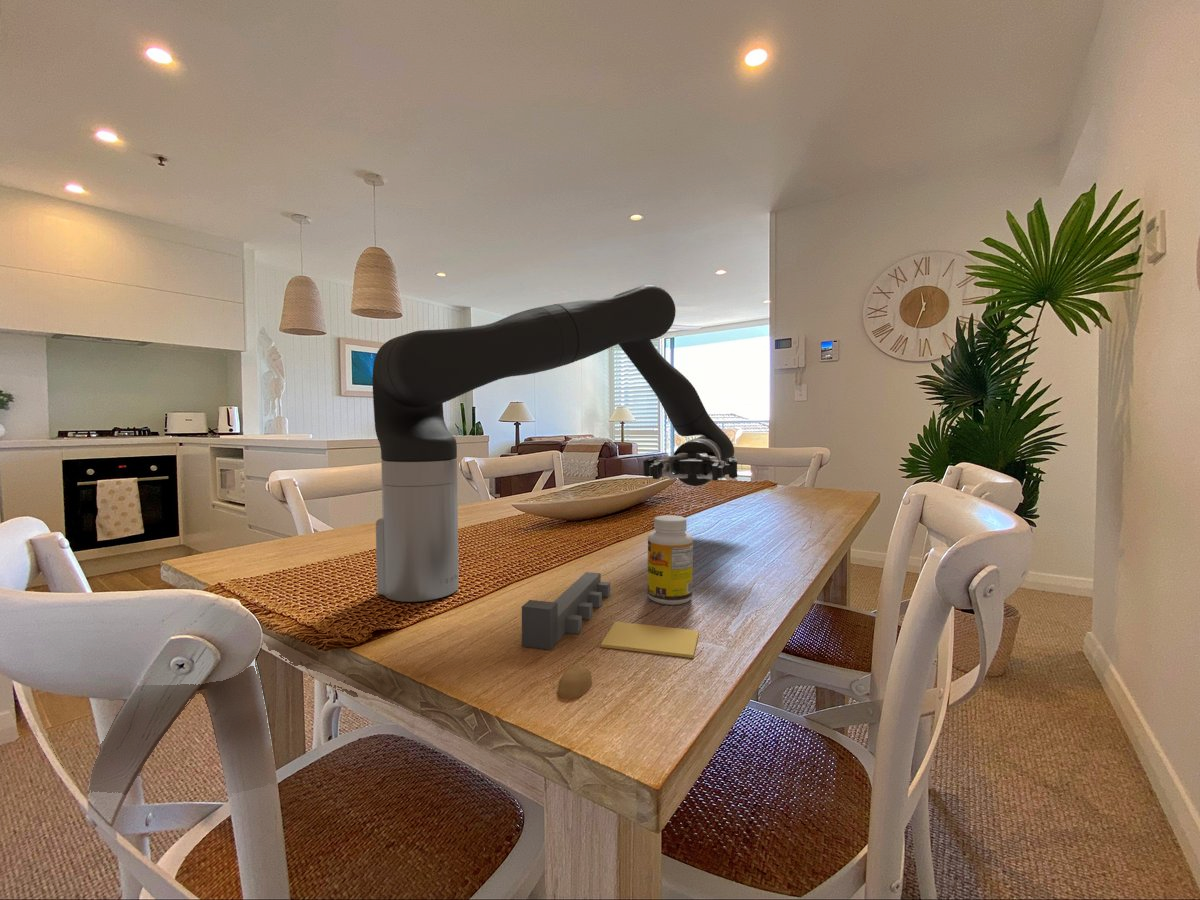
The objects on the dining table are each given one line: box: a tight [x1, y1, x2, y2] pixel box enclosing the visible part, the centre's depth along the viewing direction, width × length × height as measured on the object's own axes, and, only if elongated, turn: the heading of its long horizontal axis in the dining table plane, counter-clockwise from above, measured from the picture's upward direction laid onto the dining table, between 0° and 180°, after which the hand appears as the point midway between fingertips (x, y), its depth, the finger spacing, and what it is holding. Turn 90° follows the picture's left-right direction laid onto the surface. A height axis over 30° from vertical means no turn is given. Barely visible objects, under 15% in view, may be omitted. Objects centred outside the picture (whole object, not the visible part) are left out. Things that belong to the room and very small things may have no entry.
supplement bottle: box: [647, 514, 694, 606], centre depth 66 cm, size 6×6×10 cm
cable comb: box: [521, 571, 611, 651], centre depth 60 cm, size 4×18×4 cm, turn 164°
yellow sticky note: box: [600, 621, 700, 659], centre depth 53 cm, size 9×6×1 cm, turn 74°
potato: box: [557, 665, 593, 700], centre depth 44 cm, size 3×4×2 cm
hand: (684, 472), depth 75 cm, fingers open, 8 cm apart
